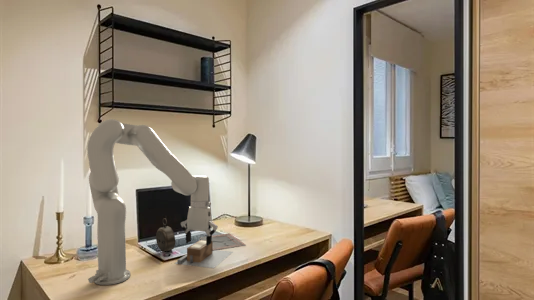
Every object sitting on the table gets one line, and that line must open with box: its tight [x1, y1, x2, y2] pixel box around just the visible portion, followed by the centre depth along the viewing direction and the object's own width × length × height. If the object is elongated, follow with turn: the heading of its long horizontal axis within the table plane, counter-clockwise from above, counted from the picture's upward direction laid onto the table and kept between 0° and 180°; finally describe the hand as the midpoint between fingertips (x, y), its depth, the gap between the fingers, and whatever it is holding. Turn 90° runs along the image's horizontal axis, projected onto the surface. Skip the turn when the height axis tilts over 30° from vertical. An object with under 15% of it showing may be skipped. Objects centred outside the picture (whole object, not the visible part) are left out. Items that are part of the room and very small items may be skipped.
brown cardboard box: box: [186, 239, 213, 262], centre depth 146 cm, size 12×6×6 cm, turn 164°
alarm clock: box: [155, 217, 176, 252], centre depth 154 cm, size 11×5×16 cm, turn 45°
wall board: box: [174, 249, 233, 269], centre depth 145 cm, size 20×18×4 cm
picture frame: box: [199, 233, 246, 251], centre depth 167 cm, size 16×2×22 cm
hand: (198, 243), depth 145 cm, fingers open, 9 cm apart
